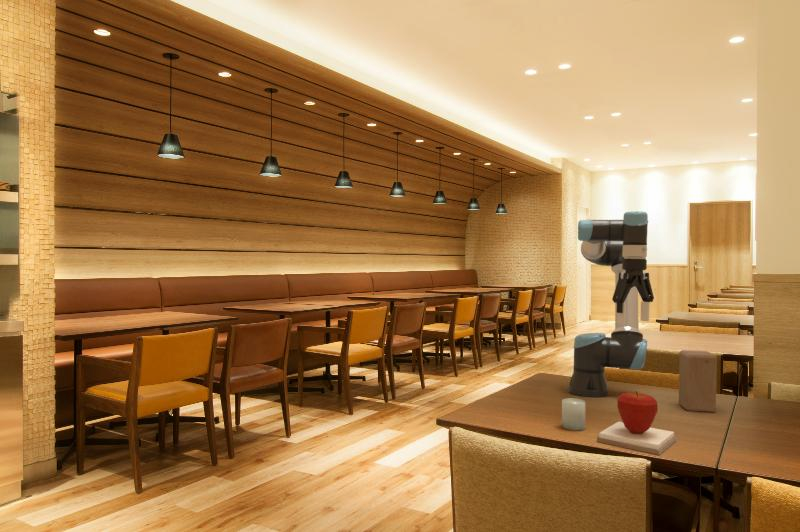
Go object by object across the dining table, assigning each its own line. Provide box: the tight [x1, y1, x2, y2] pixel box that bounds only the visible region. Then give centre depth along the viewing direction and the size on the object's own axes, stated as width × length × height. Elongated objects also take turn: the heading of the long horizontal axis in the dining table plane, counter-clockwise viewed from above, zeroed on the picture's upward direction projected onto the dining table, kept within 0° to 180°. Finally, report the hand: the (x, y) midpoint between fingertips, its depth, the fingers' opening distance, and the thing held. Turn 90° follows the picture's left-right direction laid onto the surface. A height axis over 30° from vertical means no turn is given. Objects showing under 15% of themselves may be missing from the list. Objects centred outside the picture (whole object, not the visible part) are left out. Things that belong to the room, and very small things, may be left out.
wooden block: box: [678, 349, 718, 413], centre depth 207 cm, size 10×10×20 cm
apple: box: [616, 390, 658, 433], centre depth 168 cm, size 11×11×12 cm
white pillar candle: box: [561, 397, 586, 431], centre depth 181 cm, size 7×7×8 cm
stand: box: [596, 421, 677, 456], centre depth 168 cm, size 17×17×2 cm
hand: (633, 322), depth 194 cm, fingers open, 13 cm apart
